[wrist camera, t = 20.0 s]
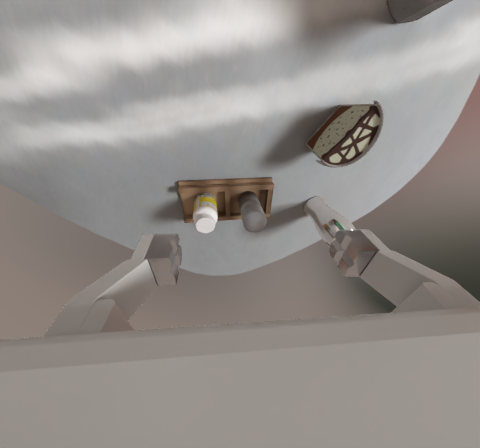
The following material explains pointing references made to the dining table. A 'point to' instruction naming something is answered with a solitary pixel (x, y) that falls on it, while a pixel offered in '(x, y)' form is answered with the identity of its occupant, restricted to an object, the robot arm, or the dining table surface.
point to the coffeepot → (413, 8)
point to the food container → (347, 134)
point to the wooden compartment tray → (232, 199)
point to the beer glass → (326, 219)
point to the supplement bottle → (205, 212)
